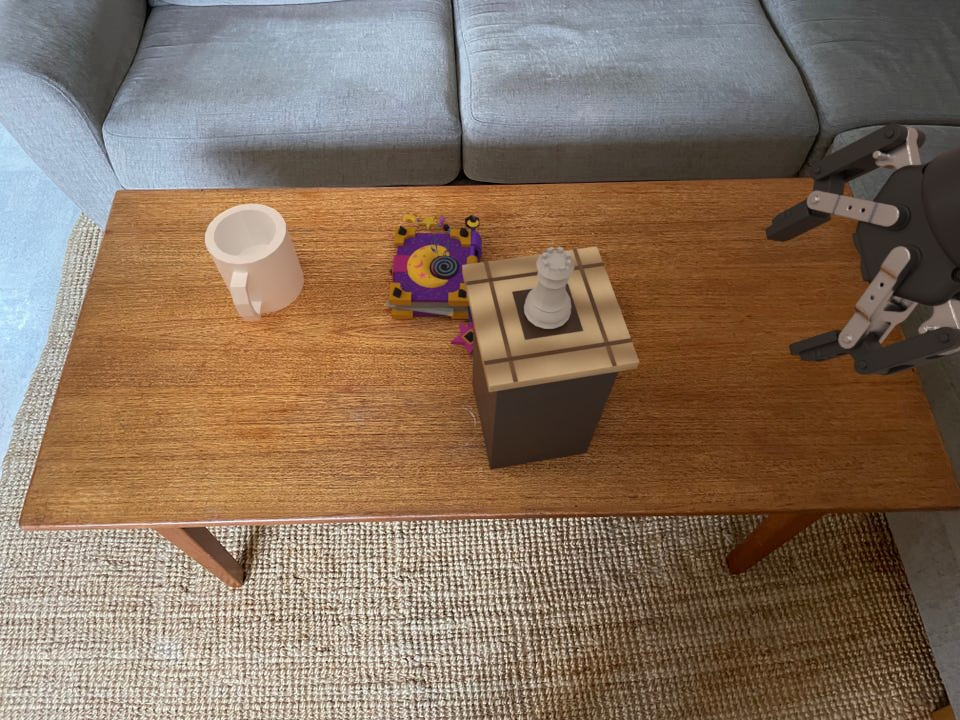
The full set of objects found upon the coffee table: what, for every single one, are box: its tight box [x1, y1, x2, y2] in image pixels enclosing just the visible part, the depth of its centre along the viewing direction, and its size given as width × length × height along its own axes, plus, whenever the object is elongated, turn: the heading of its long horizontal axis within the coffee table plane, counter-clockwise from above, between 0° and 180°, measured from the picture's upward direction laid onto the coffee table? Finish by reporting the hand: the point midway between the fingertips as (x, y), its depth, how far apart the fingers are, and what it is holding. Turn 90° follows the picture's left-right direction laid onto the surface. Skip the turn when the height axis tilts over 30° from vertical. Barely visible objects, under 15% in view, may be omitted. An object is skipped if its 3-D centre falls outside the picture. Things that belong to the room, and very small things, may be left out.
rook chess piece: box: [524, 246, 574, 329], centre depth 58 cm, size 4×4×8 cm
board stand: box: [472, 323, 620, 470], centre depth 72 cm, size 12×12×22 cm
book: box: [383, 214, 483, 357], centre depth 87 cm, size 15×25×12 cm, turn 0°
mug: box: [204, 203, 305, 322], centre depth 86 cm, size 14×10×11 cm
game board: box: [462, 246, 640, 392], centre depth 62 cm, size 14×14×1 cm
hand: (785, 292), depth 45 cm, fingers open, 8 cm apart
